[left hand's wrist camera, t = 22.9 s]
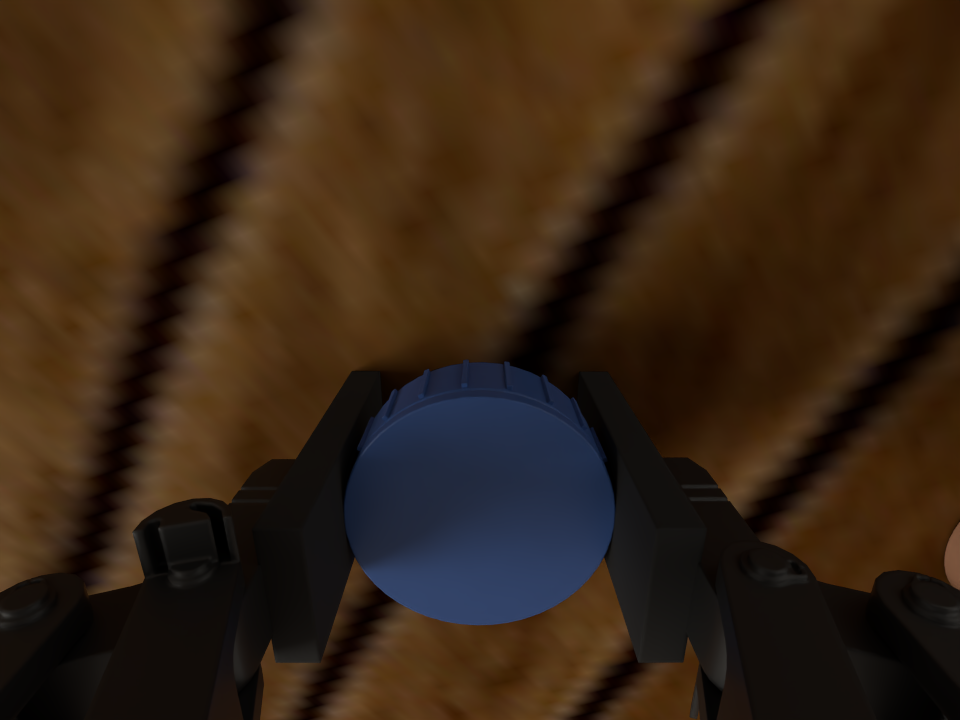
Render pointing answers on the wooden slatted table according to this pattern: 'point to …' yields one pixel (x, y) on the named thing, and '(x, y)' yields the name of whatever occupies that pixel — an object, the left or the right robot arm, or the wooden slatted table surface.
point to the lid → (479, 495)
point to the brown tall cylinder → (953, 558)
